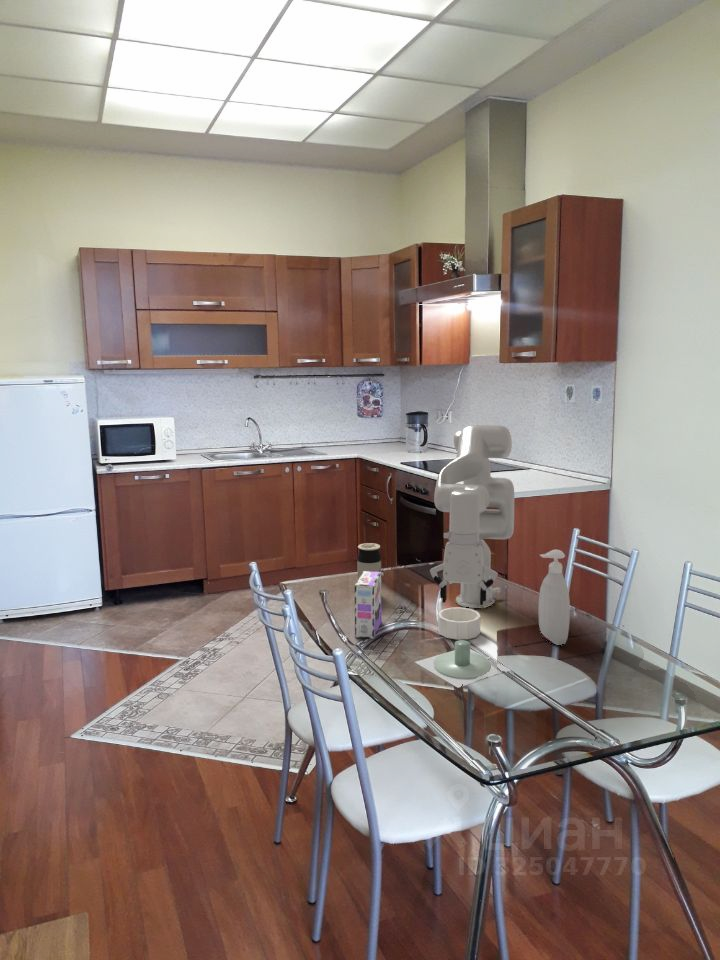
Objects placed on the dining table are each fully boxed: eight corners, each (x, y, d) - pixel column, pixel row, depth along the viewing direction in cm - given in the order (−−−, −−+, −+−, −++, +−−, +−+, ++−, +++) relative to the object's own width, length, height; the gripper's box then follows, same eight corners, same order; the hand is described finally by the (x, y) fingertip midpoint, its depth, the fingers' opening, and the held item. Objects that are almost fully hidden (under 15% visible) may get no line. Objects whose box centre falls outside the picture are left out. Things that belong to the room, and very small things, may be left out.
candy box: (374, 639, 215) (373, 585, 212) (354, 638, 216) (353, 584, 213) (382, 622, 228) (382, 571, 225) (363, 620, 229) (363, 570, 226)
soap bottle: (526, 632, 219) (528, 544, 214) (551, 629, 220) (554, 542, 215) (549, 652, 205) (553, 558, 200) (576, 648, 207) (580, 555, 202)
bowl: (461, 624, 226) (461, 604, 225) (488, 636, 216) (488, 616, 215) (430, 632, 219) (430, 612, 218) (456, 646, 209) (456, 625, 208)
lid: (465, 649, 205) (465, 628, 204) (503, 669, 193) (503, 646, 192) (422, 662, 197) (422, 640, 196) (458, 683, 185) (459, 660, 184)
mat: (465, 648, 207) (465, 646, 207) (511, 672, 192) (511, 670, 192) (414, 664, 198) (414, 662, 198) (457, 689, 183) (457, 687, 183)
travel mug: (353, 598, 249) (352, 547, 246) (365, 591, 256) (365, 541, 252) (373, 602, 245) (373, 550, 242) (385, 595, 252) (385, 544, 248)
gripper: (428, 540, 187) (428, 604, 190) (497, 543, 183) (496, 609, 186) (432, 533, 194) (431, 595, 197) (499, 536, 190) (497, 599, 193)
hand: (463, 602), depth 192 cm, fingers open, 9 cm apart
